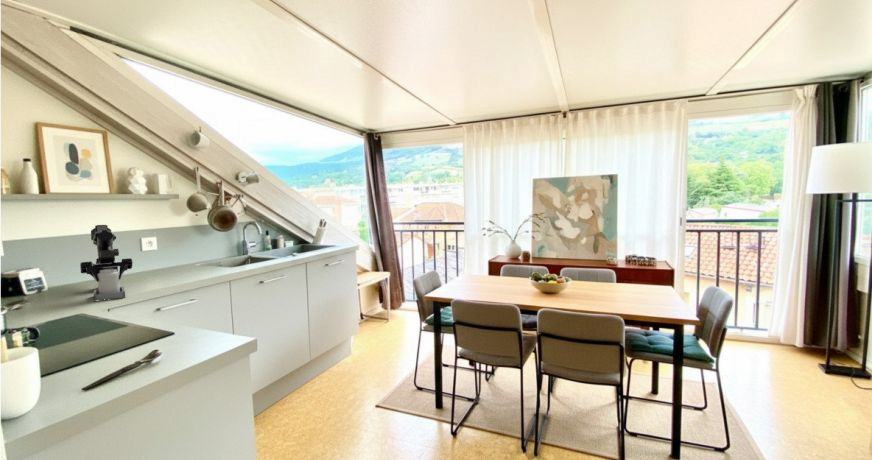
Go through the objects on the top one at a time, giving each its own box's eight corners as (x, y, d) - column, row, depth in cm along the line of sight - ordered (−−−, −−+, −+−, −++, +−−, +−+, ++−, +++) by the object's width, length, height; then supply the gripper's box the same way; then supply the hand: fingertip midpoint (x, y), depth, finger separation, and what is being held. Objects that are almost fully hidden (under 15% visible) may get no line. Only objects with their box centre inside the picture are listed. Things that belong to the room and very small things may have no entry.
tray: (94, 296, 181) (93, 290, 181) (124, 292, 188) (123, 286, 188) (94, 301, 173) (93, 295, 172) (125, 297, 180) (124, 291, 180)
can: (117, 296, 179) (115, 271, 178) (96, 297, 176) (95, 272, 174) (121, 291, 186) (120, 267, 184) (102, 293, 182) (100, 268, 181)
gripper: (79, 244, 174) (81, 273, 168) (131, 242, 187) (135, 268, 181) (79, 259, 181) (81, 286, 174) (129, 255, 194) (133, 281, 187)
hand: (108, 280), depth 179 cm, fingers open, 8 cm apart
